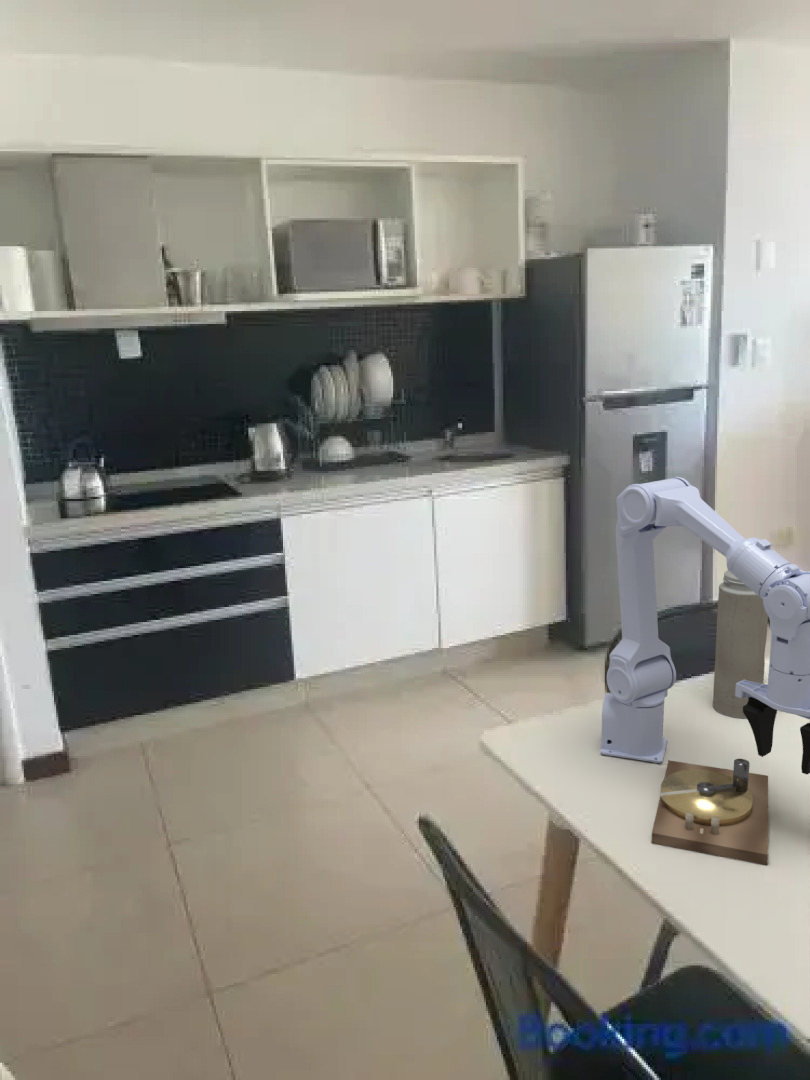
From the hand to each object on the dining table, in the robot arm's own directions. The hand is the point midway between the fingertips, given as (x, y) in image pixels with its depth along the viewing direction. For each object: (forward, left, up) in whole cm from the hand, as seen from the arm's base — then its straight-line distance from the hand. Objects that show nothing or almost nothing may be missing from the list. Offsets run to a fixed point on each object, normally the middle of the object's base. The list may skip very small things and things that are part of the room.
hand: (785, 762), depth 111 cm
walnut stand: (-9, 0, -9) cm, 13 cm away
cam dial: (-10, 0, -8) cm, 13 cm away
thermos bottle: (-7, +35, -10) cm, 37 cm away
